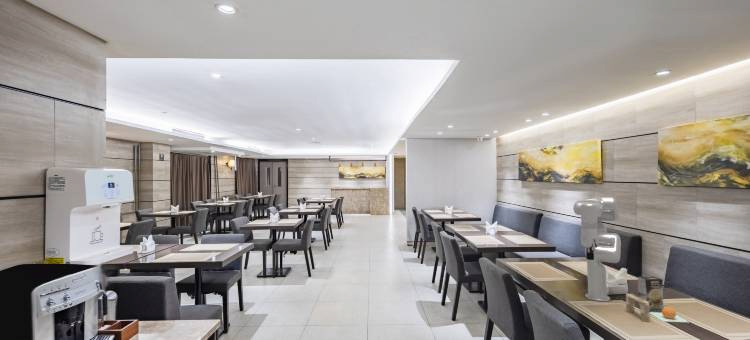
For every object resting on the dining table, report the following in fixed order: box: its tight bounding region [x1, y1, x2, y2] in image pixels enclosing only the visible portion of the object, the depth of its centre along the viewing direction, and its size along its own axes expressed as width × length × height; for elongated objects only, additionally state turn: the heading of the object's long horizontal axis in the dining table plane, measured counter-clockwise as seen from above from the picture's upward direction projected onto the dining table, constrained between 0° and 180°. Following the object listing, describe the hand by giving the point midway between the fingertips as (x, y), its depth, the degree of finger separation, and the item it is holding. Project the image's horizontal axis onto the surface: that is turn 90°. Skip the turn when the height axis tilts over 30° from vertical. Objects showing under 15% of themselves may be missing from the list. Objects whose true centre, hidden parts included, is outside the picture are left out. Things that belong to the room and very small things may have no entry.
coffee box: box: [637, 276, 664, 310], centre depth 193 cm, size 9×6×16 cm
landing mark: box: [649, 311, 690, 323], centre depth 178 cm, size 12×12×1 cm
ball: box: [661, 306, 677, 319], centre depth 177 cm, size 6×6×6 cm
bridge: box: [625, 293, 651, 323], centre depth 180 cm, size 3×14×9 cm, turn 172°
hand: (590, 259), depth 191 cm, fingers closed
